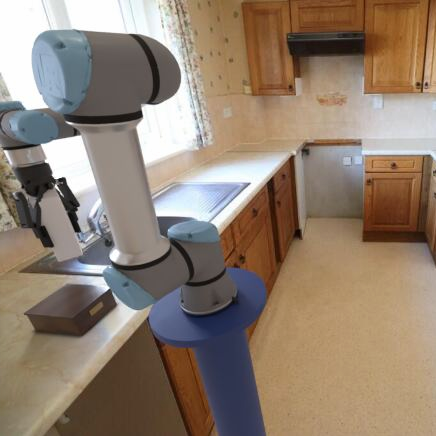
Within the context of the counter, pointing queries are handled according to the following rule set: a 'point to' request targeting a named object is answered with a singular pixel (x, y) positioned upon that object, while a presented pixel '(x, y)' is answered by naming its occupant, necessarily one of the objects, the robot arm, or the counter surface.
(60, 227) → the milk
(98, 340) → the counter surface
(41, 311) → the walnut box
